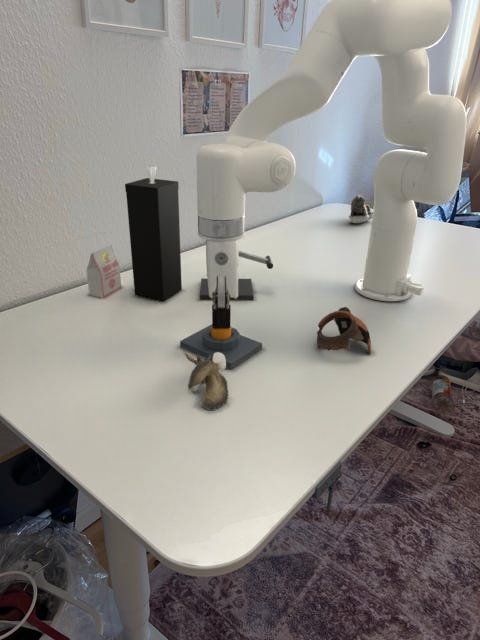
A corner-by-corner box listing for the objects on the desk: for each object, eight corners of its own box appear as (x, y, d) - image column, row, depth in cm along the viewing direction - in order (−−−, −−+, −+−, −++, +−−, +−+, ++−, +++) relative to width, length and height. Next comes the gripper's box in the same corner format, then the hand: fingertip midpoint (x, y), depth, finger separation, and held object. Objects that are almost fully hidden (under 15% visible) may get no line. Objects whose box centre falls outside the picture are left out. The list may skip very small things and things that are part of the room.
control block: (262, 349, 87) (262, 334, 86) (231, 369, 81) (231, 354, 80) (212, 329, 94) (212, 315, 93) (180, 347, 87) (179, 332, 86)
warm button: (235, 336, 87) (235, 326, 86) (222, 343, 84) (222, 333, 83) (219, 330, 89) (220, 320, 88) (207, 337, 86) (206, 327, 85)
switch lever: (269, 264, 111) (272, 254, 110) (271, 271, 107) (274, 261, 106) (219, 249, 109) (222, 239, 108) (219, 256, 105) (222, 246, 104)
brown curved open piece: (378, 365, 84) (364, 333, 79) (327, 378, 87) (311, 349, 83) (369, 320, 93) (356, 289, 88) (323, 334, 96) (308, 305, 92)
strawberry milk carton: (89, 295, 107) (84, 252, 103) (108, 284, 113) (104, 244, 109) (103, 298, 106) (98, 255, 102) (121, 287, 112) (117, 246, 107)
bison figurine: (356, 217, 174) (360, 189, 170) (375, 220, 171) (379, 191, 167) (345, 224, 165) (348, 195, 161) (364, 228, 162) (369, 198, 157)
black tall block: (182, 290, 111) (178, 165, 98) (163, 302, 105) (156, 170, 92) (153, 284, 114) (146, 161, 101) (134, 296, 107) (123, 167, 95)
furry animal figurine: (172, 374, 77) (176, 397, 69) (194, 337, 76) (201, 356, 68) (212, 393, 80) (220, 418, 71) (234, 357, 79) (245, 379, 70)
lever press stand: (250, 283, 116) (252, 235, 110) (253, 300, 107) (255, 249, 102) (201, 283, 115) (200, 235, 110) (199, 300, 106) (198, 249, 101)
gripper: (246, 240, 71) (244, 347, 79) (242, 214, 84) (240, 308, 92) (195, 239, 70) (198, 347, 79) (199, 214, 84) (201, 308, 92)
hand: (221, 326), depth 85 cm, fingers closed
